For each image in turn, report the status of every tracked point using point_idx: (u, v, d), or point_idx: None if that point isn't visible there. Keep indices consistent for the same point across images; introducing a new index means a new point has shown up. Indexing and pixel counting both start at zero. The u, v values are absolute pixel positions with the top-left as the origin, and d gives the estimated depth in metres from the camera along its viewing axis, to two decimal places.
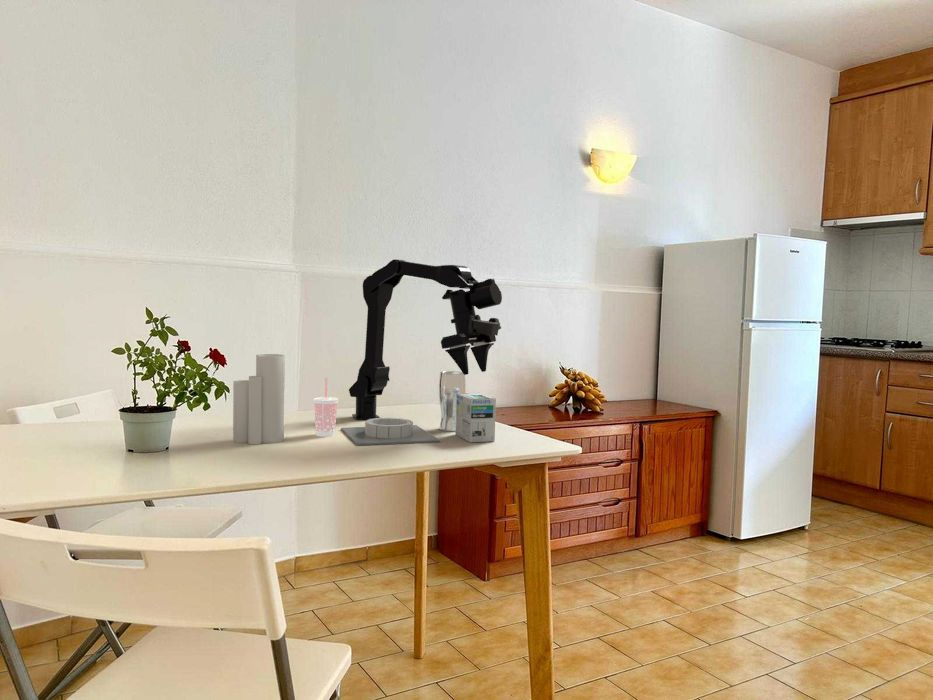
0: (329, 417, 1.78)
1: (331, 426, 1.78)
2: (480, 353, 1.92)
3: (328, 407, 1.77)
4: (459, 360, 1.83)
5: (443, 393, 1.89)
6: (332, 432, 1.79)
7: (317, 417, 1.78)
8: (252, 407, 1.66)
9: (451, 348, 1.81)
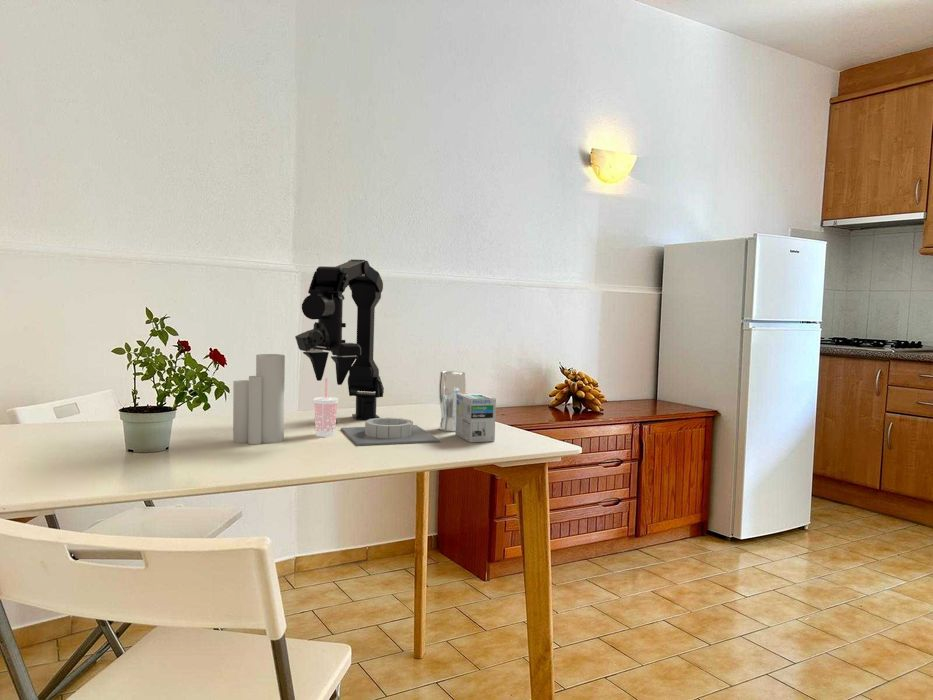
0: (329, 417, 1.78)
1: (331, 426, 1.78)
2: None
3: (328, 407, 1.77)
4: None
5: (443, 393, 1.89)
6: (332, 432, 1.79)
7: (317, 417, 1.78)
8: (252, 407, 1.66)
9: None
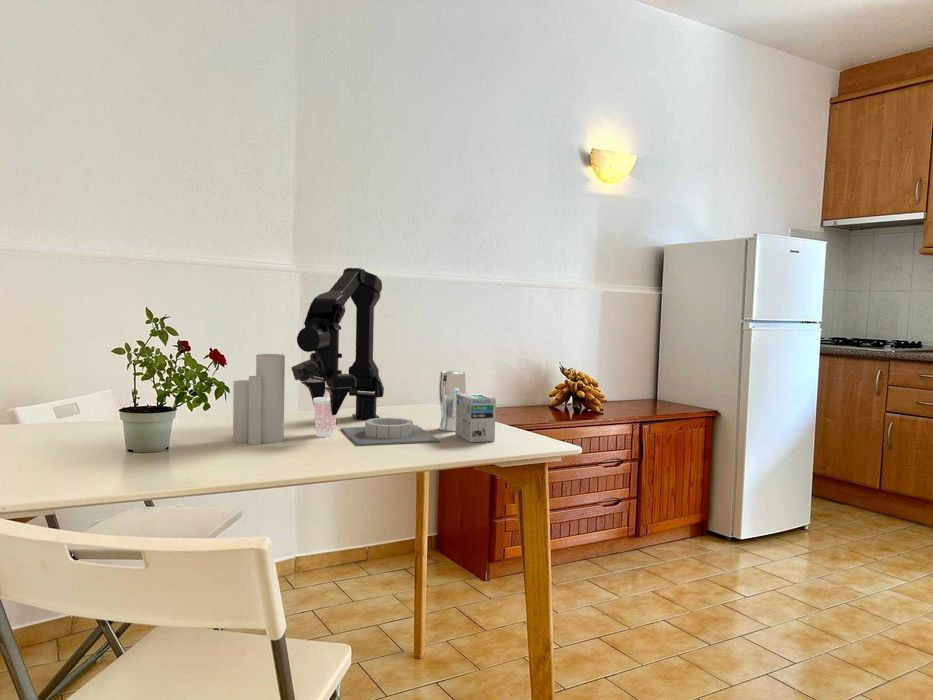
0: (329, 417, 1.78)
1: (331, 426, 1.78)
2: None
3: (328, 407, 1.77)
4: None
5: (443, 393, 1.89)
6: (332, 432, 1.79)
7: (317, 417, 1.78)
8: (252, 407, 1.66)
9: None
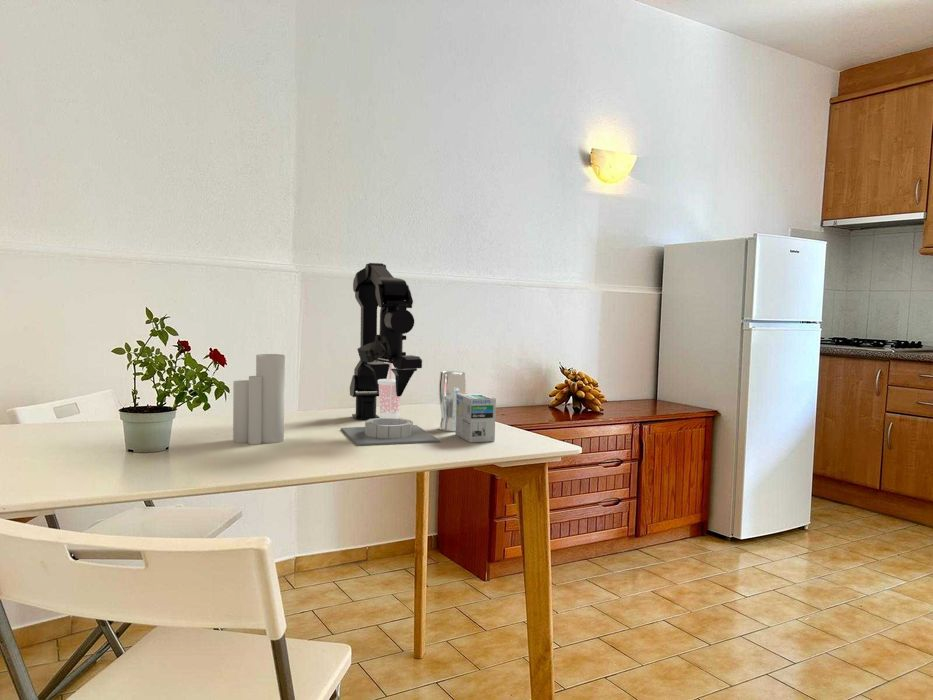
0: (396, 398, 1.79)
1: (397, 407, 1.80)
2: None
3: None
4: None
5: (443, 393, 1.89)
6: (398, 413, 1.81)
7: (384, 399, 1.79)
8: (252, 407, 1.66)
9: None
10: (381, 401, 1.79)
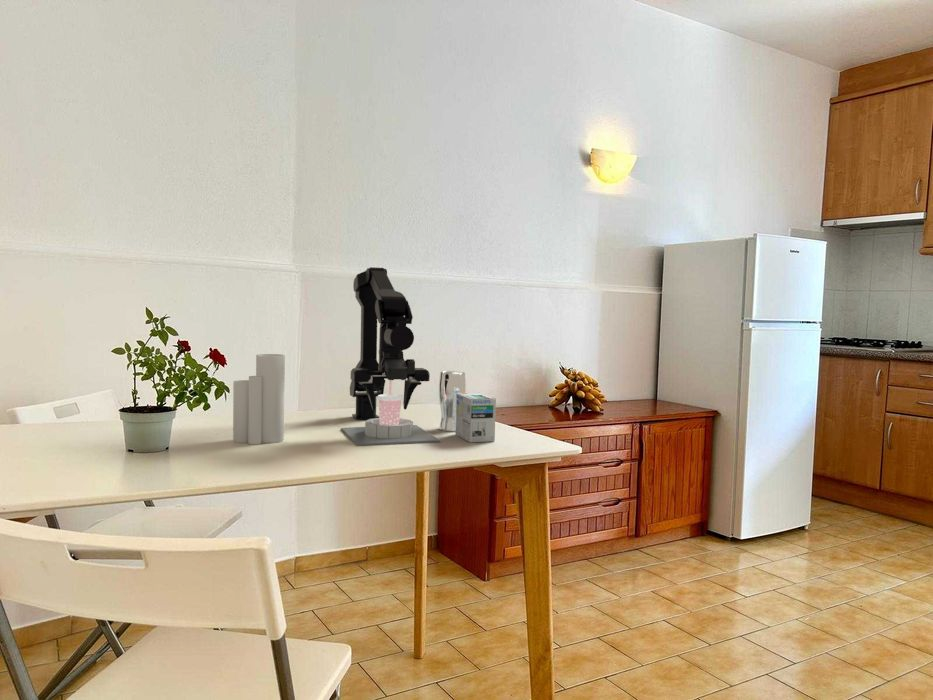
0: None
1: None
2: (406, 389, 1.82)
3: None
4: (368, 394, 1.80)
5: (443, 393, 1.89)
6: None
7: (396, 414, 1.79)
8: (252, 407, 1.66)
9: None
10: (392, 417, 1.79)
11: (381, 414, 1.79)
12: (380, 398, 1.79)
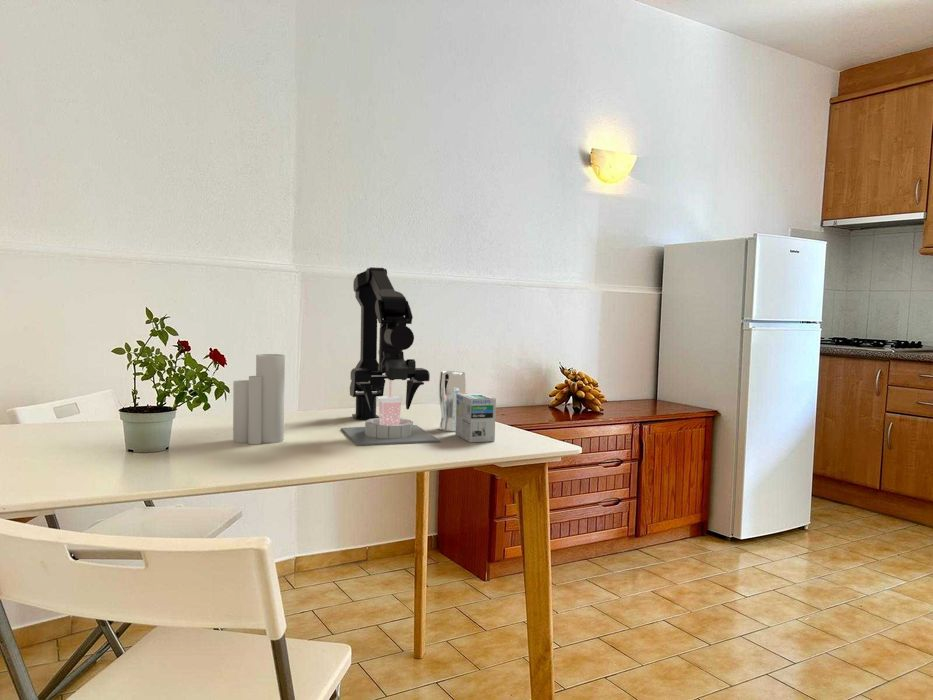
0: (389, 416, 1.79)
1: None
2: (408, 389, 1.83)
3: (388, 406, 1.78)
4: (366, 394, 1.79)
5: (443, 393, 1.89)
6: None
7: (379, 415, 1.80)
8: (252, 407, 1.66)
9: (357, 381, 1.79)
10: None
11: None
12: None
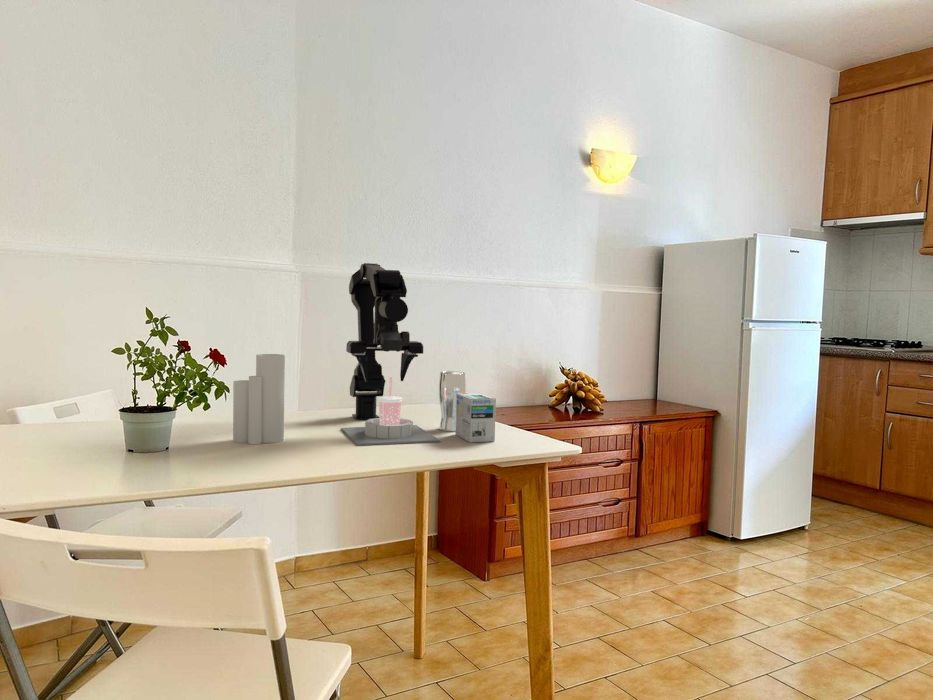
0: (389, 416, 1.79)
1: None
2: (403, 362, 1.87)
3: (388, 406, 1.78)
4: (361, 366, 1.84)
5: (443, 393, 1.89)
6: None
7: (379, 415, 1.80)
8: (252, 407, 1.66)
9: (353, 353, 1.83)
10: None
11: None
12: None
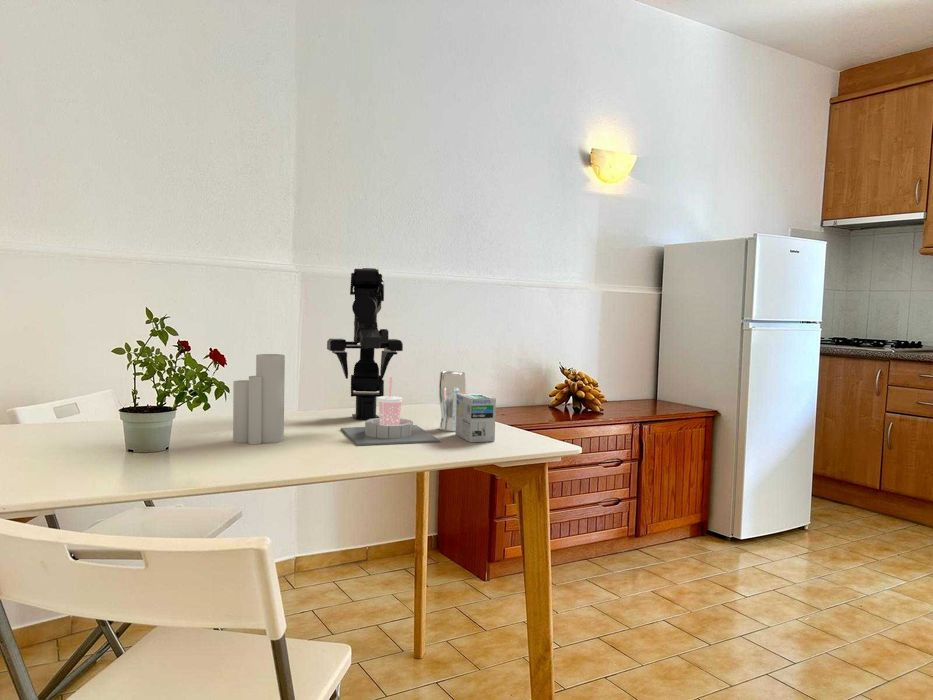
0: (389, 416, 1.79)
1: None
2: (383, 359, 1.91)
3: (388, 406, 1.78)
4: (341, 363, 1.88)
5: (443, 393, 1.89)
6: None
7: (379, 415, 1.80)
8: (252, 407, 1.66)
9: (333, 351, 1.87)
10: None
11: None
12: None
